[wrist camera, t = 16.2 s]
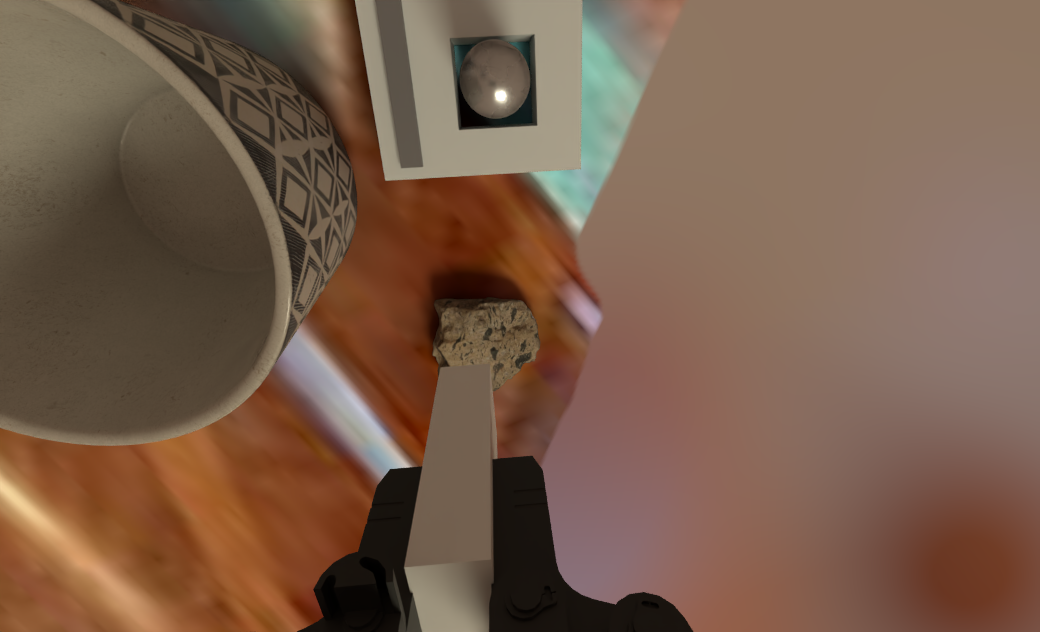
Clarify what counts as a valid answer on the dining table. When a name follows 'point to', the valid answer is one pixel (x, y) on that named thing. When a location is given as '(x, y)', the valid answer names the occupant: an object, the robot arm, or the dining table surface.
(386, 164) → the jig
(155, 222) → the planter
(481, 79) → the metal cylinder
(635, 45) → the dining table surface
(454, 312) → the rock
